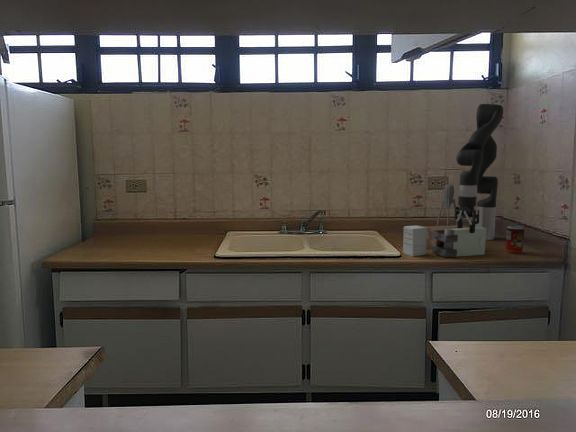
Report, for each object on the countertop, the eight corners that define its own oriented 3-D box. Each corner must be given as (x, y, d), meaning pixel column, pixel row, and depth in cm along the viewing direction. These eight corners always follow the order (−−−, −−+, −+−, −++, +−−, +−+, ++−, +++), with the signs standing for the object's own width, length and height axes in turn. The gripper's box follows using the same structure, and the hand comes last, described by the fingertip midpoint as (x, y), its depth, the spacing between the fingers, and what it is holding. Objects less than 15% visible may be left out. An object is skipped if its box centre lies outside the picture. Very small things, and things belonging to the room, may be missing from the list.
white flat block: (441, 255, 199) (442, 229, 198) (479, 252, 204) (481, 227, 203) (447, 257, 195) (448, 230, 193) (486, 255, 200) (488, 228, 198)
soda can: (513, 254, 201) (515, 227, 199) (502, 251, 207) (503, 225, 206) (526, 253, 203) (528, 227, 201) (514, 250, 209) (516, 224, 208)
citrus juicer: (447, 246, 220) (450, 185, 216) (429, 243, 227) (431, 184, 223) (458, 242, 227) (461, 184, 223) (440, 240, 235) (443, 183, 231)
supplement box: (415, 251, 207) (416, 225, 205) (426, 255, 200) (427, 227, 198) (402, 253, 204) (403, 226, 203) (412, 256, 198) (413, 228, 196)
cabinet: (419, 248, 214) (419, 226, 213) (459, 245, 220) (460, 224, 218) (444, 258, 194) (446, 234, 193) (488, 255, 200) (489, 232, 198)
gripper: (485, 196, 191) (483, 233, 193) (464, 193, 204) (463, 228, 207) (470, 197, 189) (468, 234, 191) (450, 194, 202) (448, 229, 205)
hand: (465, 231), depth 199 cm, fingers open, 8 cm apart
